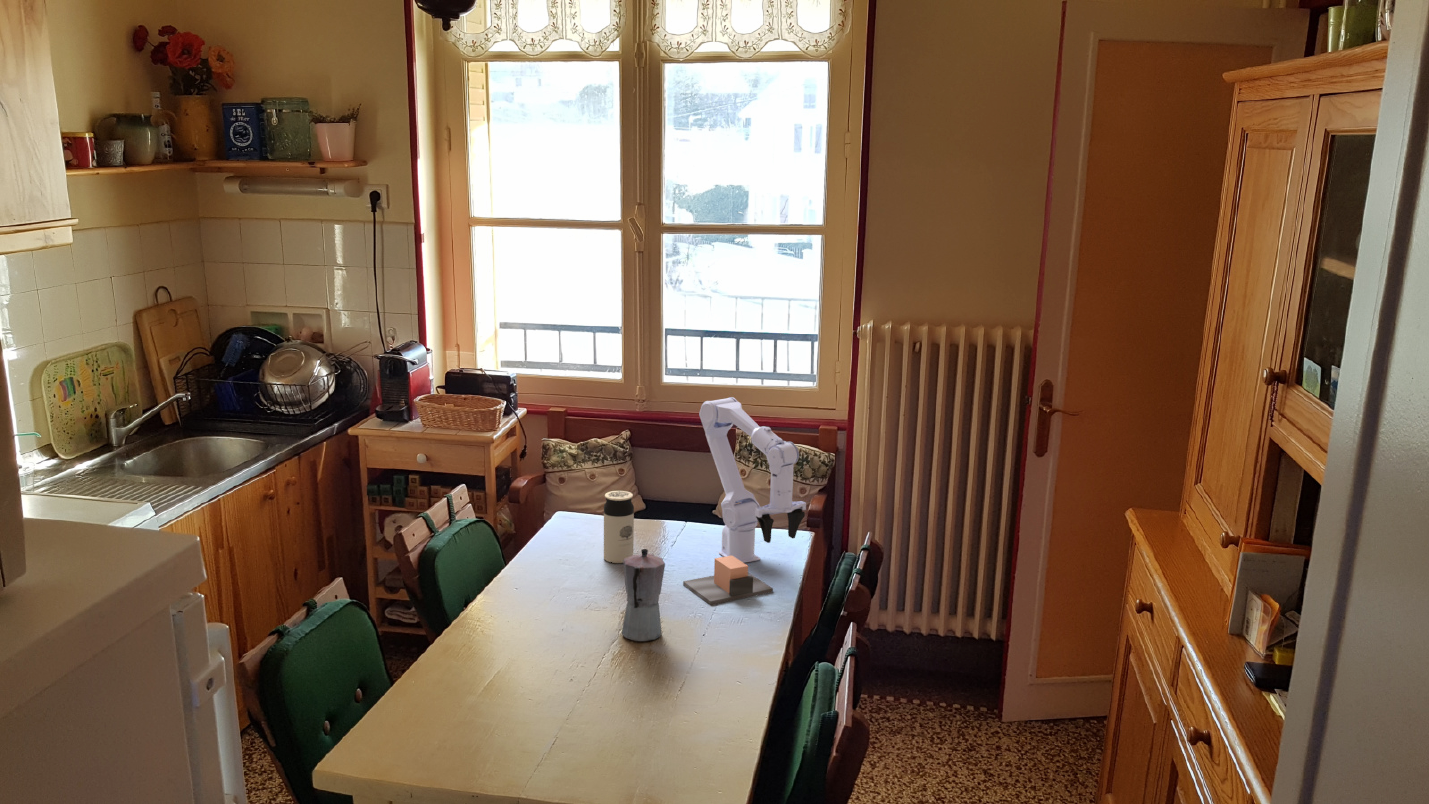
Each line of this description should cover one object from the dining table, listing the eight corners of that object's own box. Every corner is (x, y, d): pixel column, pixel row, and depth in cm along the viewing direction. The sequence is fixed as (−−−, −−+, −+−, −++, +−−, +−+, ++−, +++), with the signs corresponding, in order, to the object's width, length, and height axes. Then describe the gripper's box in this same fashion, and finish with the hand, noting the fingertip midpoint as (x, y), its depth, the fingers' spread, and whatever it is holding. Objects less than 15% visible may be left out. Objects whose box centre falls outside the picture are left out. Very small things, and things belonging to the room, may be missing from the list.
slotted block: (714, 582, 264) (714, 558, 262) (731, 579, 266) (731, 555, 265) (729, 594, 257) (730, 569, 255) (747, 590, 259) (748, 565, 258)
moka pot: (668, 622, 242) (669, 540, 238) (658, 652, 227) (659, 565, 223) (627, 620, 243) (628, 538, 239) (614, 649, 228) (615, 562, 224)
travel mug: (599, 555, 283) (599, 492, 279) (627, 551, 286) (627, 488, 282) (609, 565, 276) (609, 500, 272) (637, 561, 279) (638, 497, 275)
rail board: (683, 585, 264) (683, 566, 263) (744, 573, 273) (744, 555, 272) (710, 605, 252) (710, 585, 251) (773, 592, 261) (773, 573, 260)
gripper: (765, 497, 262) (764, 548, 264) (813, 489, 269) (811, 540, 272) (751, 489, 268) (749, 539, 270) (798, 482, 275) (796, 531, 278)
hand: (779, 539), depth 271 cm, fingers open, 7 cm apart
